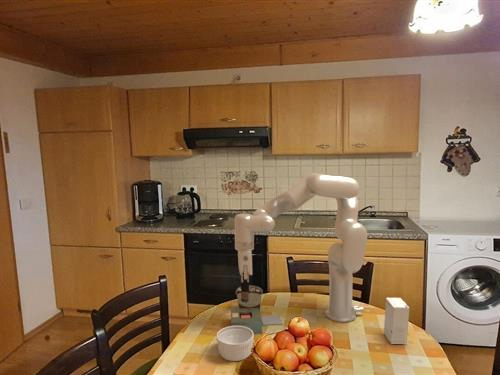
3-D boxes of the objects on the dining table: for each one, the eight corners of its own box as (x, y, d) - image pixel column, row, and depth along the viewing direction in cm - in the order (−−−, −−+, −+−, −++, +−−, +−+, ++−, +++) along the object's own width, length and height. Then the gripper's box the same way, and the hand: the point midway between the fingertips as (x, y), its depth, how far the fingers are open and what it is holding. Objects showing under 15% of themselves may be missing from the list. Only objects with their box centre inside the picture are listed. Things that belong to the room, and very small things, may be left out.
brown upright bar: (248, 298, 145) (247, 267, 144) (248, 302, 142) (248, 270, 141) (240, 299, 145) (240, 268, 144) (241, 302, 142) (240, 270, 141)
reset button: (250, 318, 147) (250, 314, 147) (251, 322, 143) (250, 319, 143) (241, 318, 146) (240, 315, 146) (241, 323, 143) (241, 319, 143)
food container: (264, 306, 164) (263, 285, 162) (263, 312, 157) (263, 290, 156) (237, 305, 165) (237, 284, 164) (235, 311, 159) (235, 290, 158)
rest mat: (279, 315, 154) (279, 314, 154) (282, 324, 146) (282, 323, 146) (260, 316, 153) (260, 315, 153) (263, 325, 146) (263, 324, 145)
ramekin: (212, 347, 130) (211, 329, 130) (245, 339, 135) (245, 322, 135) (224, 367, 118) (223, 347, 117) (260, 358, 123) (259, 339, 123)
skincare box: (383, 334, 138) (384, 296, 136) (399, 333, 138) (400, 296, 136) (391, 345, 129) (393, 306, 128) (408, 345, 129) (410, 306, 128)
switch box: (259, 318, 151) (259, 307, 151) (262, 333, 140) (262, 320, 139) (230, 320, 150) (230, 308, 150) (231, 335, 139) (231, 322, 138)
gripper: (255, 250, 134) (256, 297, 135) (252, 239, 150) (252, 281, 152) (235, 251, 133) (236, 298, 135) (234, 240, 149) (234, 282, 151)
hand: (244, 289), depth 143 cm, fingers closed on brown upright bar, 3 cm apart
